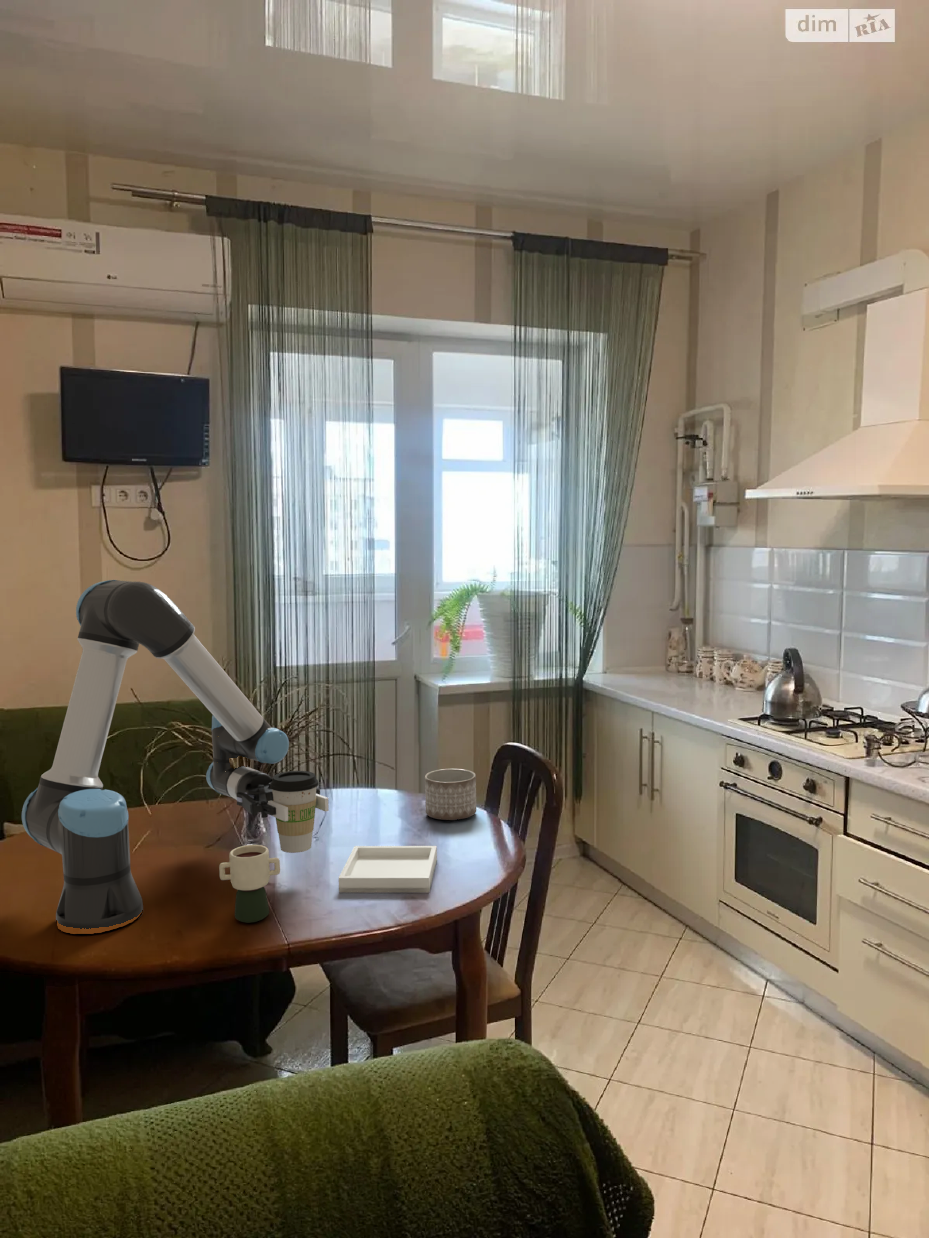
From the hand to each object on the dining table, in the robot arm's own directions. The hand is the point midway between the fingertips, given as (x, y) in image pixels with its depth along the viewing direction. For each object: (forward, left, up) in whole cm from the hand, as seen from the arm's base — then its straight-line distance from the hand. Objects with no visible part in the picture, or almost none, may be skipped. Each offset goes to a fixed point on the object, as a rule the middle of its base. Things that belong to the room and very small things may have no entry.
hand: (306, 809), depth 180 cm
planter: (+45, -26, -16) cm, 54 cm away
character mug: (-15, +7, -16) cm, 23 cm away
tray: (+6, -16, -16) cm, 23 cm away
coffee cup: (+3, +3, -9) cm, 10 cm away
